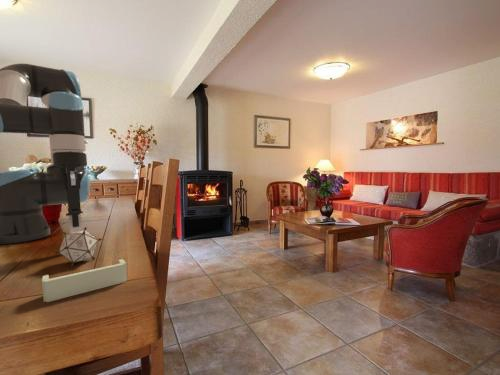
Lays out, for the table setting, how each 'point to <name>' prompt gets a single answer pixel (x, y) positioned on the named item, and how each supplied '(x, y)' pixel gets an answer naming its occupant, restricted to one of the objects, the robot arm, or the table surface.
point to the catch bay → (83, 281)
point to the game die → (78, 246)
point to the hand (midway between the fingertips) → (76, 238)
